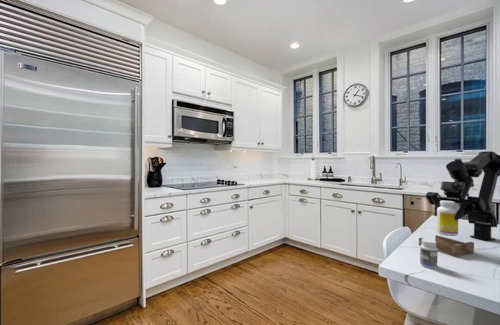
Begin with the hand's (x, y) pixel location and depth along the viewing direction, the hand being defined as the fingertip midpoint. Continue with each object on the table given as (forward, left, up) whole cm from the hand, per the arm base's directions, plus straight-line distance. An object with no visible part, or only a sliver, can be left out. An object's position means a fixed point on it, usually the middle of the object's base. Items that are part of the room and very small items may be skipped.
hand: (445, 217), depth 100 cm
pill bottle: (+21, +8, -13) cm, 26 cm away
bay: (-1, -1, -13) cm, 13 cm away
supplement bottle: (-1, 0, -7) cm, 7 cm away
